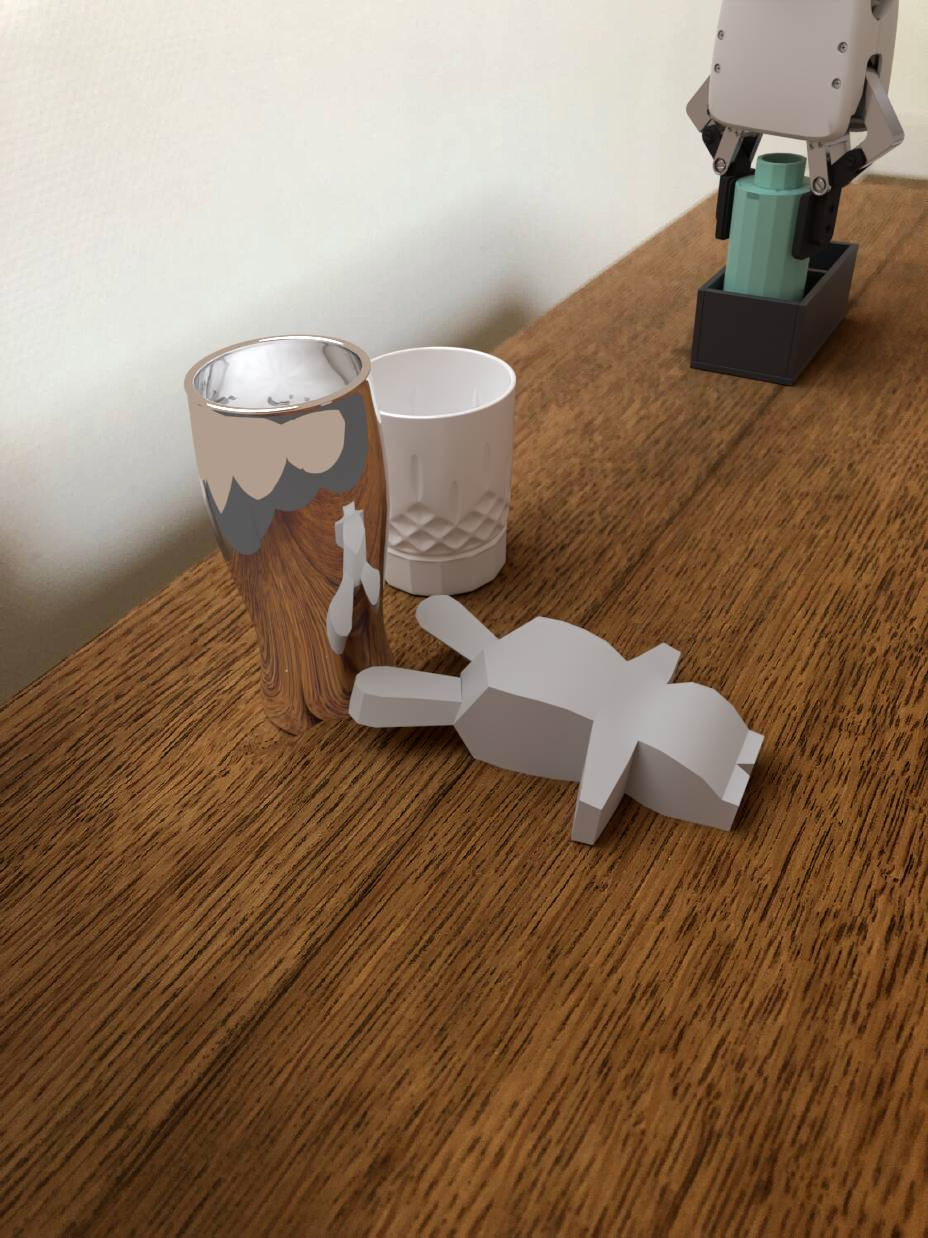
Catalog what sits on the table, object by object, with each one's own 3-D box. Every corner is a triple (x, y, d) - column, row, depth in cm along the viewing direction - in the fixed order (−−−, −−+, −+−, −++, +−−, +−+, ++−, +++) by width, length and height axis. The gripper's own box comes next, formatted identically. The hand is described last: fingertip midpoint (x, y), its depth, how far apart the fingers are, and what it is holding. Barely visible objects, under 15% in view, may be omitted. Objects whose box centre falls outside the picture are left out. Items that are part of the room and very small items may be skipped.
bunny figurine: (729, 833, 32) (326, 669, 37) (694, 925, 36) (328, 764, 40) (792, 660, 39) (445, 539, 44) (758, 751, 42) (438, 630, 47)
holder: (844, 317, 78) (859, 243, 74) (792, 386, 68) (806, 305, 65) (751, 303, 81) (761, 231, 77) (689, 367, 71) (697, 288, 68)
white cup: (430, 626, 48) (418, 434, 42) (334, 559, 53) (310, 379, 47) (548, 561, 52) (552, 378, 46) (448, 505, 57) (440, 333, 51)
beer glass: (239, 664, 47) (166, 350, 38) (386, 627, 48) (349, 319, 39) (268, 766, 41) (190, 429, 32) (431, 721, 43) (401, 389, 34)
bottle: (746, 328, 75) (771, 144, 67) (808, 347, 71) (841, 156, 64) (702, 348, 72) (722, 159, 64) (764, 369, 69) (793, 173, 61)
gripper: (1003, -92, 53) (920, 259, 64) (732, -95, 64) (700, 208, 75) (929, -84, 49) (854, 289, 60) (654, -88, 60) (633, 231, 71)
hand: (770, 241), depth 67 cm, fingers closed on bottle, 5 cm apart
